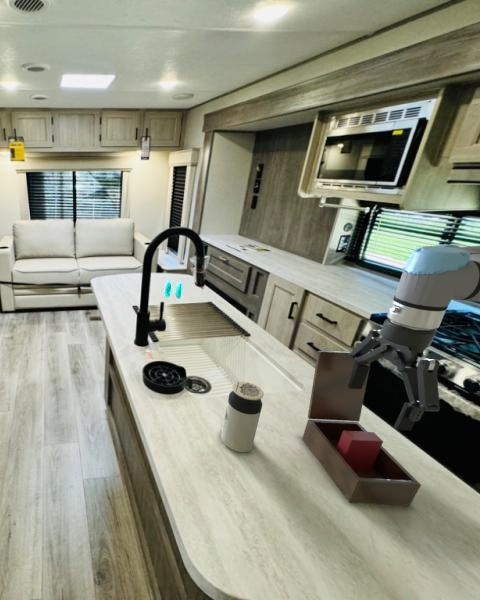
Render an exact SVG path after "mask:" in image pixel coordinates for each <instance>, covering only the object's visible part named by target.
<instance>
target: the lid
mask: <svg viewBox="0 0 480 600" xmlns="http://www.w3.org/2000/svg"><path fill="white" fill-rule="evenodd" d="M350 352H351V351H340V350H339V351H338V350H337V351H335V350H332V351H331V350H317V354H316V355H317V356H316V362H315V368H314V374H313V380H312V388H311V393H310V399H309V400H310V401H309V407H308V412H307V418H308V420H327V421H349V422H360V419H361V415H362V410H363V403H364V398H365V394H366V390H367V389H366V388H367V384H368V378H369V372H370V370H369V371H368V373H367V376H366V378H365V381H364V384H363V386H362V389H350V388H348V384H349V382H350V379H351V376H352V369H353V366H354V361H353V360H354V359H353V358H352V357H350V356H349V353H350ZM369 352H370V351H369ZM369 352H368V353H369ZM371 363H372V362H370V364H365V365H368V366H369V367H371Z"/></svg>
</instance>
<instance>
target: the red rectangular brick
mask: <svg viewBox="0 0 480 600" xmlns="http://www.w3.org/2000/svg"><path fill="white" fill-rule="evenodd" d="M383 443H384V441H383V439H381V438H380V437H379V436H378V434H376V433H375V432H374V431H367V432H362V431H343V433H342V435H341V438H340V441H339V443H338V446H337V449H336V450H337V451H338V453H339V454H340V455H341V456H342V457H343V459H344V460H345V461H346V462H347V463H348V465H349V466H350V467H351V468H352V469H353V471H363V472H370V471H371V468H372V466H373V464H374V461H375V459H376V457H377V455H378V452H379V450H380V448H381V446H382V447H383Z"/></svg>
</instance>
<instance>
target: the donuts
mask: <svg viewBox="0 0 480 600" xmlns="http://www.w3.org/2000/svg"><path fill="white" fill-rule="evenodd" d="M183 288H184V284H183V283H182V282H178V283H177V284H176V287H175V293H174V294H175V297H176V299H181V298H182V296H183ZM172 289H173V285H172V282H171V281H169V280H168V281H166V282H165V285H164V291H163V292H164V297H165V298H169V297H171V295H172V291H173V290H172Z"/></svg>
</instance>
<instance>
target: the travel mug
mask: <svg viewBox="0 0 480 600" xmlns="http://www.w3.org/2000/svg"><path fill="white" fill-rule="evenodd" d="M264 395H265V394H264V391H263V389H262V388H261V387H260V386H258V384H254V383H252V382H250V381H244V380H239V381H235V382H233V383H232V384H231V391H230V393H229V394H228V399H227V403H226V404H227V405H226V408H225V409H226V410H225V415H224V420H223V425H222V430H221V435H220V437H221V440H222V441H221V442H223V444H224V445H225V446H226V447H227V448H229V449H231V450H233V451H236V452H238V453H248V452H250V451H251V450H252V449H253V445H254V441H255V438H256V433H257V429H258V425H259V422H260V418H261V417H260V416H261V412H262V408H263V401H262V399H263V397H264Z"/></svg>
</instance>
